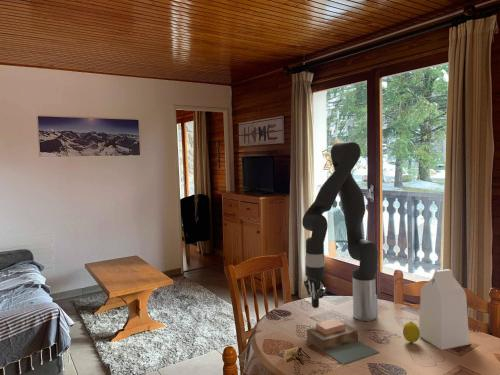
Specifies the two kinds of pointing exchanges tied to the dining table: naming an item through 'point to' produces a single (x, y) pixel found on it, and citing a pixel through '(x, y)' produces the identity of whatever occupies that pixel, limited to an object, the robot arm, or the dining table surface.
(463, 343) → the milk
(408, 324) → the lemon
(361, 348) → the mat
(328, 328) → the pink sponge
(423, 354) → the dining table surface
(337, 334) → the deck
